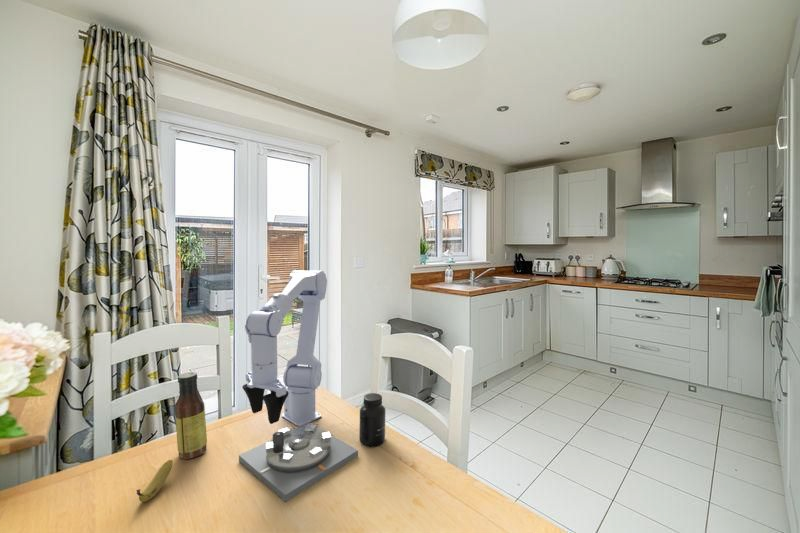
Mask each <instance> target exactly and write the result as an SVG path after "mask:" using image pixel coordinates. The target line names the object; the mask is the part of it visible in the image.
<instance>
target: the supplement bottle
mask: <svg viewBox="0 0 800 533" xmlns="http://www.w3.org/2000/svg"><path fill="white" fill-rule="evenodd" d="M362 403H363V405H362V406H361V407H360V409H359V432H358V433H359V442H360V444H361V446H364V447H367V448H377V447H380V446H381V445H383V444H384V443H385V440H386V412H387V411H386V407H385V406H384V405H383V396H382V395H381V394H379V393H377V392H376V393H374V392H370V393H366V394H365V395H364V396H363V402H362Z"/></svg>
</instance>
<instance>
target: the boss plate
mask: <svg viewBox="0 0 800 533" xmlns="http://www.w3.org/2000/svg"><path fill="white" fill-rule="evenodd" d="M307 424H313V423H312V422H309V423H307ZM307 424H305V425H303V426H300V427H299V426H297V428H303V427H306V425H307ZM317 429H321V430H323V431H325V430H324V429H322V428H320V427H318V426H317ZM325 432H327V431H325ZM330 436H331V451H330V454H329V456H328V457H327V458H326V459H325V460H324V461H323V462H322V463H320V464H319V465H317V466H315V467H313V468H311V469H308V470H304V471H299V472H282V471H278V470H275V469H273V468H271V467H270V466H269V465H268V463H267V461H266V444H267V443H269V442H270V441H271V440H272V439H271V440H268V441H267V442H266V441H265V442H264V443H262V444H259V445H258V446H255V447H253V448H252V449H249V450H247V451H245V452H243V453H241V454H238V462H239V463H241V464H242V466H244V467H245V468H246V469H247V470H248V471H249V472H250V473H252V474H253V476H255V477H256V478H257V479H259V480H260V481H261V482H262V483H263V484H264V485H265V486H267V487H268V488H269V489H270V491H272V492H273V493H274V494H275V495H277V496H278V498H280V499H281V500H283V502H285V503H286V502H287V501H289V500H291V499H292V498H294V497H296V496H297V495H299V494H301V493H302V492H304V491H305V490H307V489H308V488H310V487H311V486H313V485H314V484H316V483H318V482H319V481H322V479H324V478H326V477H327V476H329V475H331V474H333V472H335V471H336V470H338V469H340V468H341V467H343V466H344V465H346V464H348V463H349V462H351V461H353V460H354V459H356V458H358V457H359V449H357V448H356V447H353V446H352V445H350V444H349V443H346V442H345V441H343V440H341V439H339V438H338V437H336V436H334V435H333V434H331V433H330Z"/></svg>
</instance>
